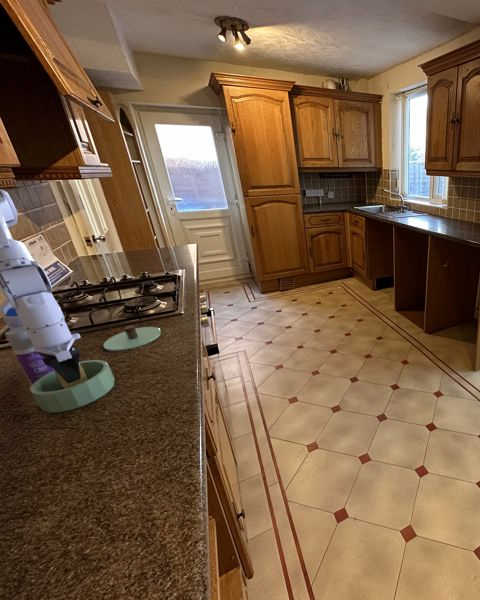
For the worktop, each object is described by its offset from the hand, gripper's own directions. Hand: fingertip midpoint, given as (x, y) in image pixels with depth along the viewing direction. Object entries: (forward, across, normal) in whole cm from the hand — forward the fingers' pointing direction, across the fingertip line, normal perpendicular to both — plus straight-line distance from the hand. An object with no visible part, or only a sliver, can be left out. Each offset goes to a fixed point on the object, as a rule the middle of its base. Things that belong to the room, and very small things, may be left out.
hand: (71, 377), depth 72 cm
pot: (+4, 0, 0) cm, 4 cm away
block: (+1, 0, 0) cm, 1 cm away
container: (+5, +10, +4) cm, 12 cm away
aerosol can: (+5, +17, +1) cm, 18 cm away
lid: (+4, +19, -16) cm, 25 cm away
